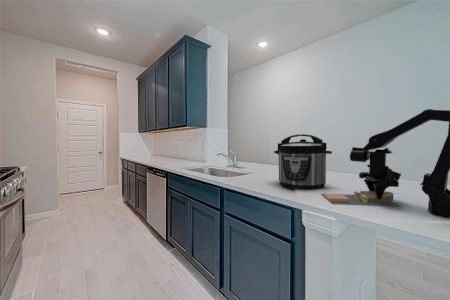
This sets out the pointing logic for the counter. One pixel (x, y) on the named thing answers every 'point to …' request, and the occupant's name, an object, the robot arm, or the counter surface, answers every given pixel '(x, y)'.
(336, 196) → the terracotta tile
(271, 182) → the counter surface
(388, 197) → the beech scraper
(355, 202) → the charcoal mat
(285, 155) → the pressure cooker
